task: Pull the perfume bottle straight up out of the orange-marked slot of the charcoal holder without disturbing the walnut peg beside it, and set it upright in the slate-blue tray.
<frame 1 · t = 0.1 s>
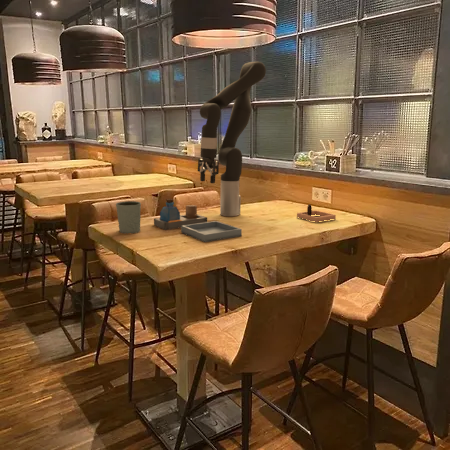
hand: (207, 182, 219), 17 cm above the table, tool pointing down, fingers open, 8 cm apart
walnut peg: (191, 223, 211), resting in slot holder
perfume bottle: (170, 226, 205), resting in slot holder
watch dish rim: (315, 218, 224), on the table
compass: (315, 219, 224), resting in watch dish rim
tray: (211, 234, 191), on the table
slot holder: (180, 224, 208), on the table
grey cup: (129, 231, 195), on the table
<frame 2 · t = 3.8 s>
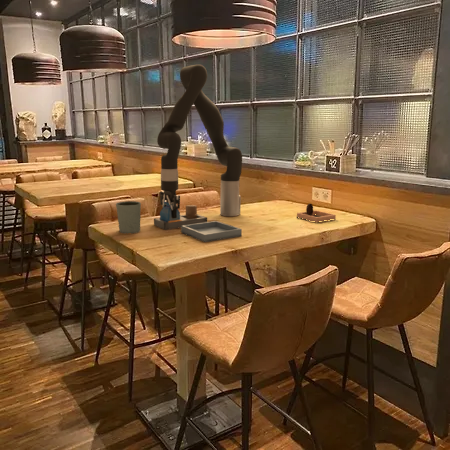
hand: (169, 216, 204), 4 cm above the table, tool pointing down, fingers closed on perfume bottle, 6 cm apart
perfume bottle: (170, 226, 205), resting in slot holder, touching gripper
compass: (316, 218, 226), resting in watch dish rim
everything else where it was.
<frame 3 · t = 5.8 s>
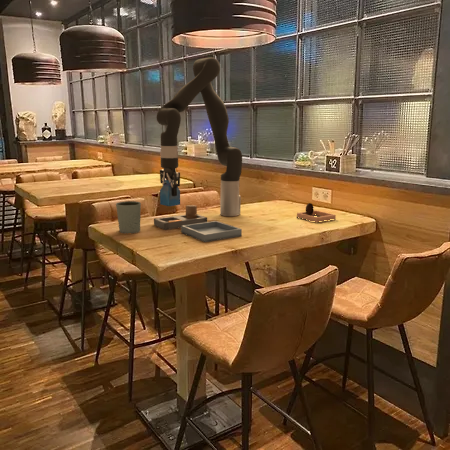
hand: (170, 194, 201), 14 cm above the table, tool pointing down, fingers closed on perfume bottle, 6 cm apart
perfume bottle: (170, 204, 203), point 9 cm above the table, touching gripper
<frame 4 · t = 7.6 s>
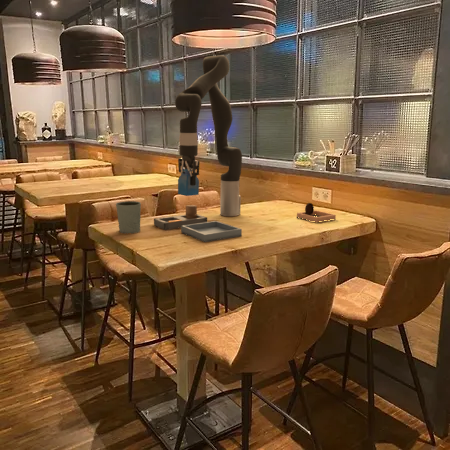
hand: (188, 184, 194), 20 cm above the table, tool pointing down, fingers closed on perfume bottle, 6 cm apart
perfume bottle: (188, 194, 195), point 15 cm above the table, touching gripper
everything else where it was.
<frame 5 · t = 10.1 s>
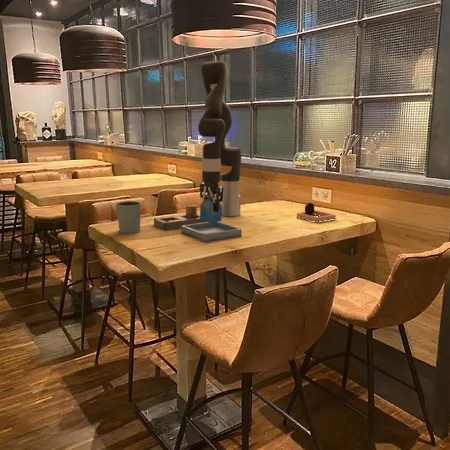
hand: (210, 210, 189), 10 cm above the table, tool pointing down, fingers closed on perfume bottle, 6 cm apart
perfume bottle: (210, 221, 190), point 6 cm above the table, touching gripper
everything else where it was.
when the fingers open (6 cm above the table, at t = 11.9 s): perfume bottle drops 1 cm, resting on tray.
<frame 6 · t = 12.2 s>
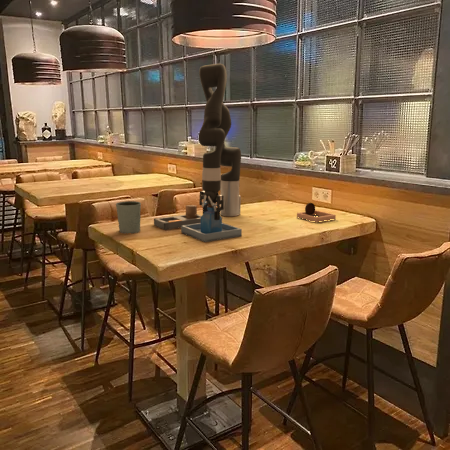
hand: (211, 218, 190), 7 cm above the table, tool pointing down, fingers open, 8 cm apart
perfume bottle: (211, 233, 191), point 1 cm above the table, touching tray
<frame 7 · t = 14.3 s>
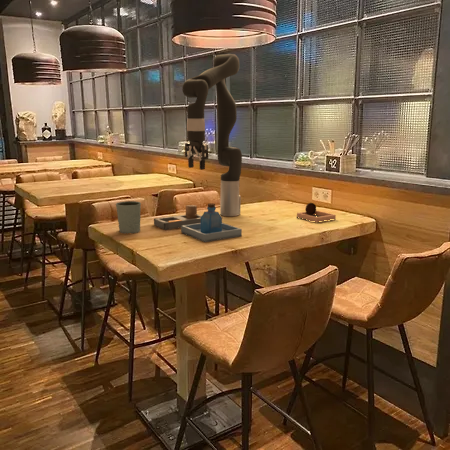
hand: (196, 168, 197), 26 cm above the table, tool pointing down, fingers open, 8 cm apart
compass: (315, 218, 226), resting in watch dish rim
everything else where it was.
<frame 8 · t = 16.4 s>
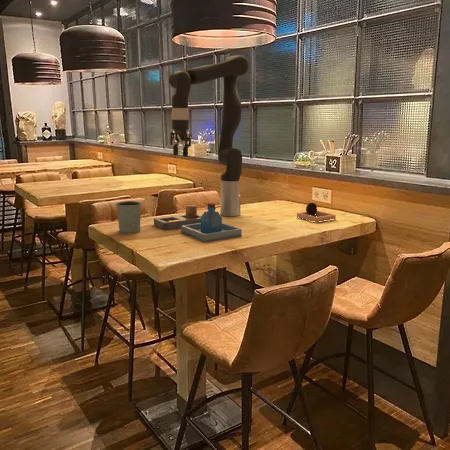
hand: (180, 155, 208), 30 cm above the table, tool pointing down, fingers open, 8 cm apart
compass: (316, 218, 226), resting in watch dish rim
everything else where it was.
at the end: perfume bottle inside the target area on the tray (0.2 cm from its centre), point 0.6 cm above the tray's base; perfume bottle tilted 0°; walnut peg moved 0.0 cm from its start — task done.
